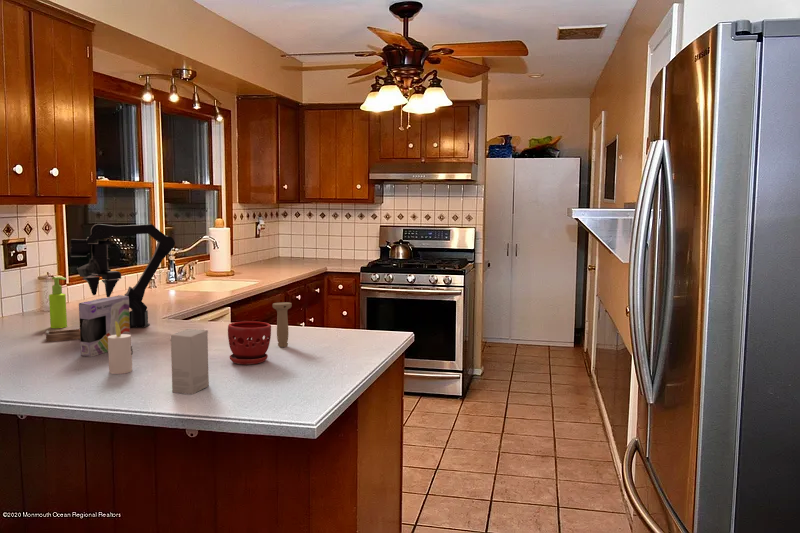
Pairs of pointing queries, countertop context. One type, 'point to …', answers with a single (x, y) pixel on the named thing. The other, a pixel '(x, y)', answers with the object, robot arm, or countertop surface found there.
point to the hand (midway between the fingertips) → (101, 296)
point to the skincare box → (189, 361)
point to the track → (62, 335)
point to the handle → (282, 322)
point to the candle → (120, 352)
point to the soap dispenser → (57, 305)
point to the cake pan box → (102, 323)
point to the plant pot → (249, 342)
